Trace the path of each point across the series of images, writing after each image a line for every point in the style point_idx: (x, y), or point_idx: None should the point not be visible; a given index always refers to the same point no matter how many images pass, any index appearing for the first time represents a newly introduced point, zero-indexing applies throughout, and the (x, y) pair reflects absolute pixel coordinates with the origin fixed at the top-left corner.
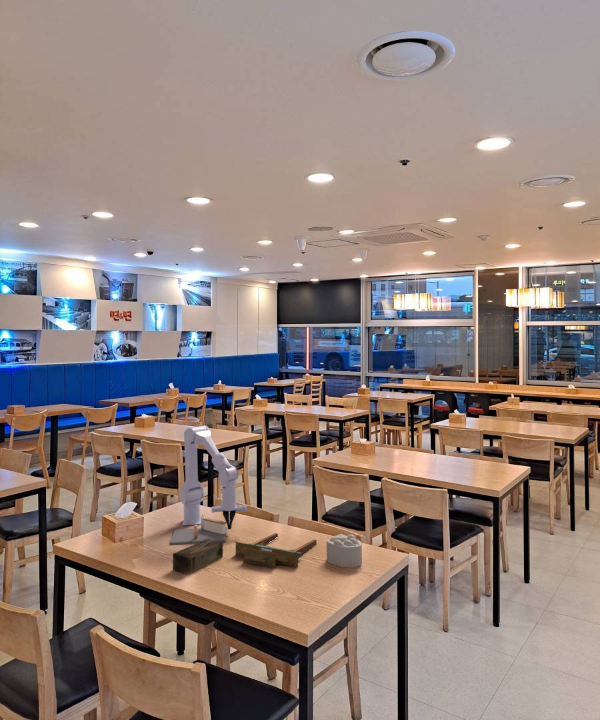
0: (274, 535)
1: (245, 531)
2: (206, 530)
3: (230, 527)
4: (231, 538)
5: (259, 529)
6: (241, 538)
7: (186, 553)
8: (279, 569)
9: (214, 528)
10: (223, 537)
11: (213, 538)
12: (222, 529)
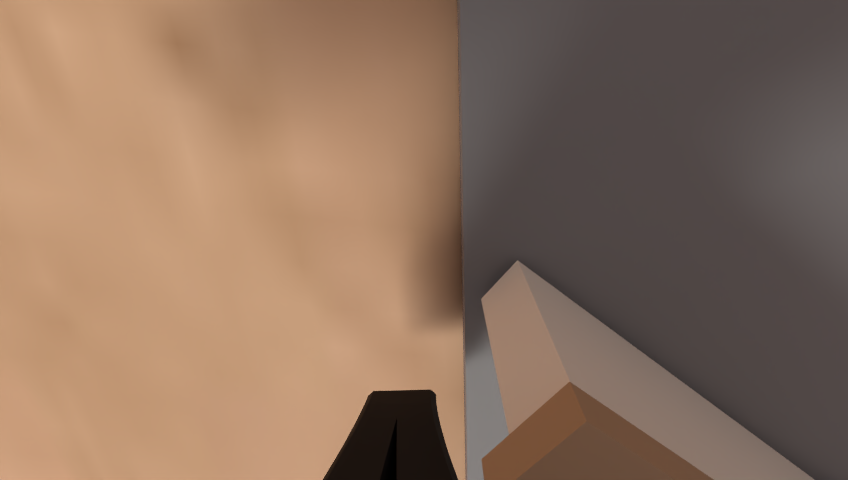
0: None
1: (196, 430)
2: None
3: (376, 410)
4: (355, 160)
5: (26, 474)
6: (168, 142)
7: None
8: None
9: (713, 427)
10: (507, 118)
11: (725, 78)
12: (554, 320)
